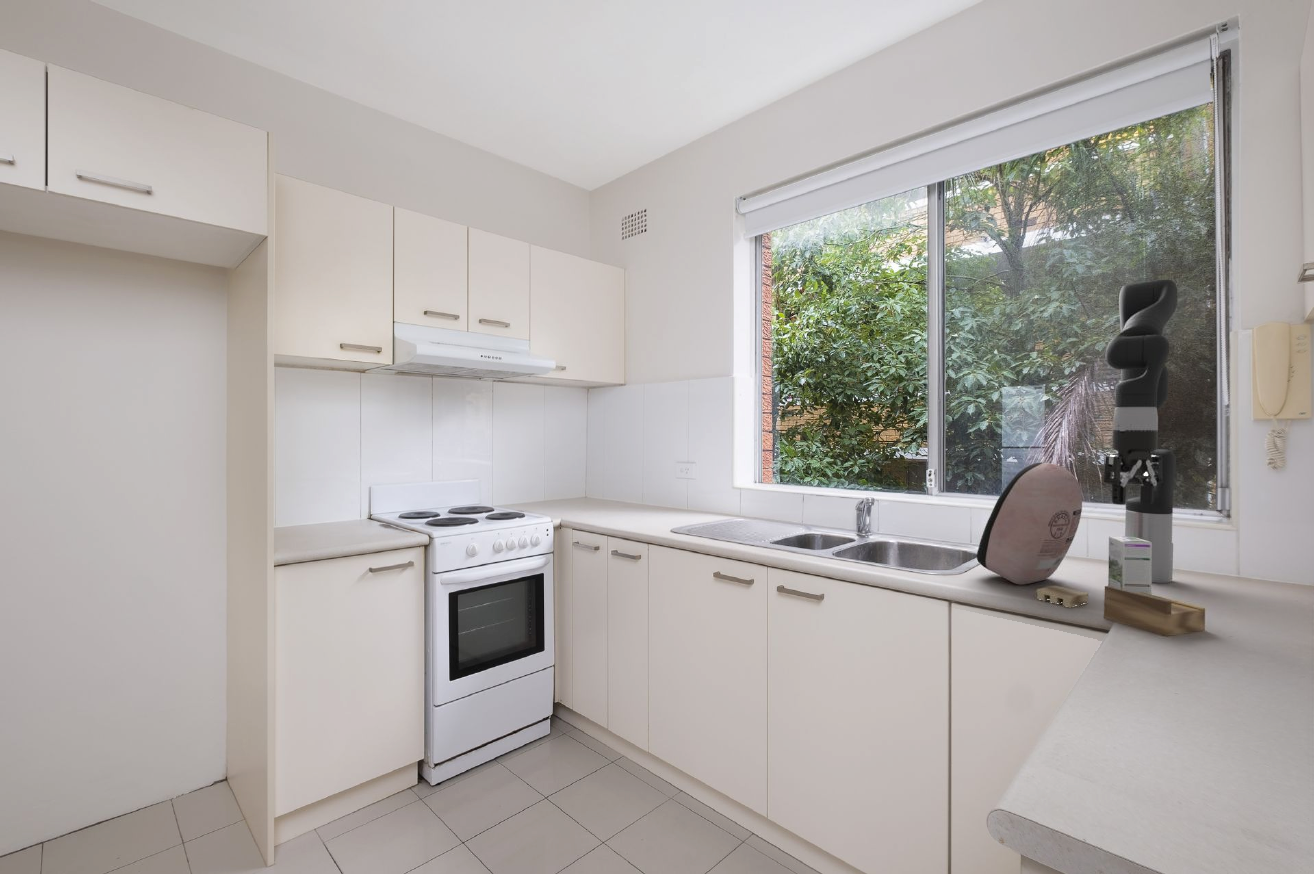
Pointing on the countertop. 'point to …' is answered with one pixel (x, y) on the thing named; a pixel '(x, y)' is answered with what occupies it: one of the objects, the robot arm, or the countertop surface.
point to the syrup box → (1130, 564)
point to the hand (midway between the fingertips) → (1132, 503)
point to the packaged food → (1032, 524)
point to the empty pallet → (1062, 596)
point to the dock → (1152, 612)
